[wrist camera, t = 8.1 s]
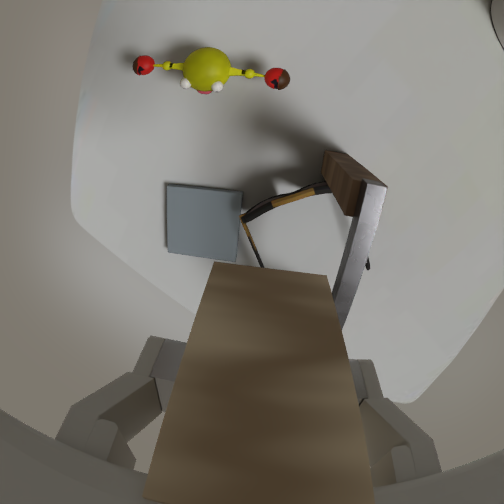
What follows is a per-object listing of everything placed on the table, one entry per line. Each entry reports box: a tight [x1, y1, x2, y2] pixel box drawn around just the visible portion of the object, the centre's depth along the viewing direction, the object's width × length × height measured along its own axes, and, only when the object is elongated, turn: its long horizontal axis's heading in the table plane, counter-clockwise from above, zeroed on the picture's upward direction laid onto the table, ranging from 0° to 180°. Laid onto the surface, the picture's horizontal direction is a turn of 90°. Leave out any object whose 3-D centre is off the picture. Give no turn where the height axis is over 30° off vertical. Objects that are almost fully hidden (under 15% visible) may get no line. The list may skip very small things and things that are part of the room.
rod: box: [332, 178, 387, 330], centre depth 26 cm, size 2×23×2 cm, turn 174°
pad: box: [167, 184, 243, 262], centre depth 40 cm, size 10×10×1 cm
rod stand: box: [321, 150, 388, 219], centre depth 33 cm, size 3×22×15 cm, turn 174°
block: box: [142, 262, 375, 504], centre depth 8 cm, size 4×4×8 cm
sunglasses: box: [239, 181, 370, 270], centre depth 38 cm, size 14×15×5 cm
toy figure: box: [133, 47, 290, 94], centre depth 28 cm, size 18×6×7 cm, turn 79°
